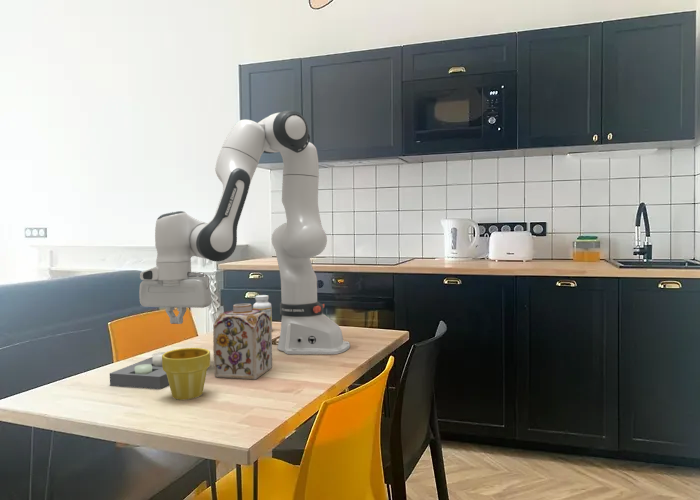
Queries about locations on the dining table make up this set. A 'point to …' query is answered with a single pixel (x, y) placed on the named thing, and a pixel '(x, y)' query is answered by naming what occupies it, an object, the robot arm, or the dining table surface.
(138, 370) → the sage button
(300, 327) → the robot arm
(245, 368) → the decorative jar
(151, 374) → the button console
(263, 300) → the supplement bottle
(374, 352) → the dining table surface
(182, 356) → the plant pot
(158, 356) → the ivory button
